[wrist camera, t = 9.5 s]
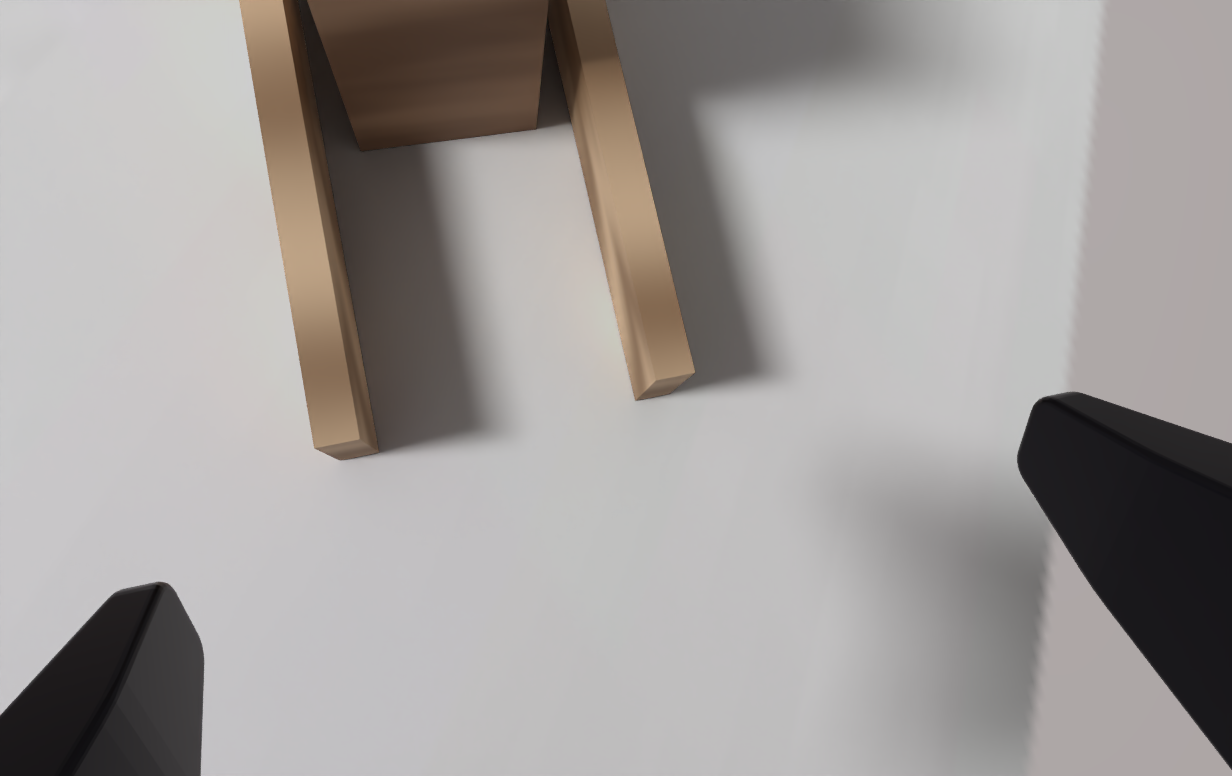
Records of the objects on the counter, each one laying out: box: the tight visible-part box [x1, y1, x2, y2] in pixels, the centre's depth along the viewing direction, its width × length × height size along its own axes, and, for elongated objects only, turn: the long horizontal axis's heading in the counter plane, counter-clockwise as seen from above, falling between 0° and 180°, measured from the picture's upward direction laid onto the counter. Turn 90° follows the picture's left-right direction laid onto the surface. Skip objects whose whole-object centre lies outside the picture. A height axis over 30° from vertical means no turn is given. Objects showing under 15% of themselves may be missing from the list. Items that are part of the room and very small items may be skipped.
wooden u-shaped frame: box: [239, 0, 695, 460], centre depth 21 cm, size 20×9×4 cm, turn 13°
